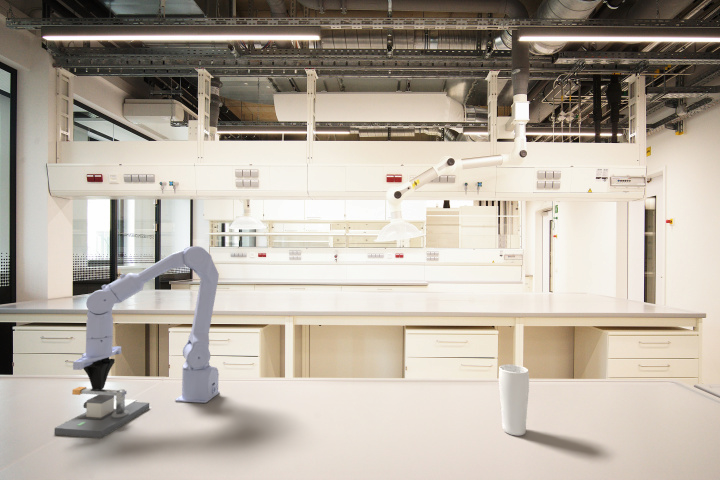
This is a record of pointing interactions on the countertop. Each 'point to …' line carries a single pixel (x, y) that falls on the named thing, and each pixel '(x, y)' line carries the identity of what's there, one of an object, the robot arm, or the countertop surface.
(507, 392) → the drinking glass
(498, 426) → the countertop surface
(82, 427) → the grey flat board
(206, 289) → the robot arm
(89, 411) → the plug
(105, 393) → the orange-tipped grey rod
